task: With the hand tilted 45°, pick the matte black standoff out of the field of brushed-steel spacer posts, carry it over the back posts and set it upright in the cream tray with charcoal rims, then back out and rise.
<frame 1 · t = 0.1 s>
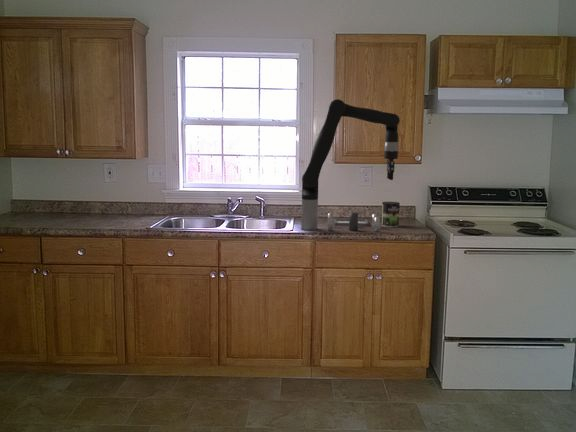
hand: (390, 179, 308), 29 cm above the counter, tool pointing down, fingers open, 8 cm apart
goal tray: (351, 223, 335), on the counter
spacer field: (353, 230, 311), on the counter
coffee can: (390, 226, 328), on the counter
black standoff: (353, 230, 311), on the counter
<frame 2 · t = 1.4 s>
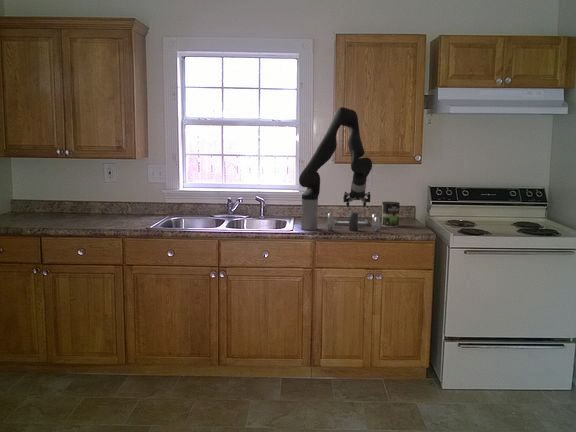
hand: (355, 205, 299), 15 cm above the counter, tool tilted 45°, fingers open, 8 cm apart
nothing on the counter moved.
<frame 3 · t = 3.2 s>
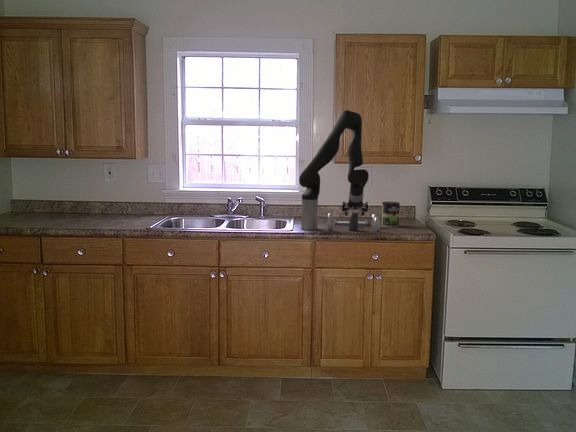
hand: (354, 214, 306), 9 cm above the counter, tool tilted 45°, fingers open, 8 cm apart
nothing on the counter moved.
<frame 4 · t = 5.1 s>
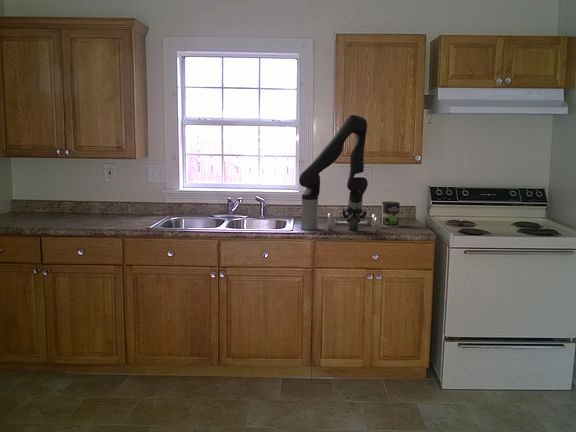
hand: (353, 221, 312), 5 cm above the counter, tool tilted 45°, fingers closed on black standoff, 5 cm apart
black standoff: (353, 230, 311), on the counter, touching gripper
everything else where it was.
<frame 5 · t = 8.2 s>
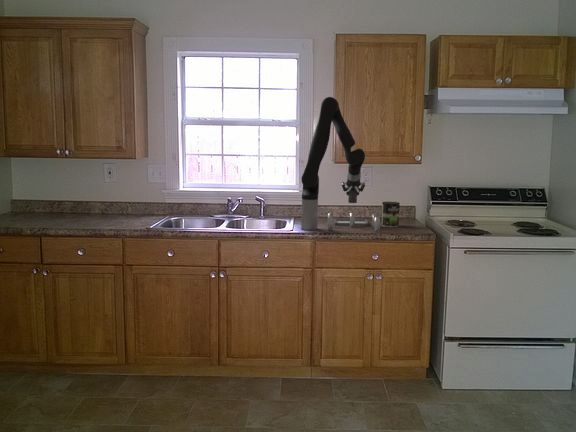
hand: (352, 194, 330), 18 cm above the counter, tool tilted 45°, fingers closed on black standoff, 5 cm apart
black standoff: (352, 202, 329), point 13 cm above the counter, touching gripper
everything else where it was.
when the fingers open (6 cm above the counter, at t = 11.3 s): black standoff drops 1 cm, resting on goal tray.
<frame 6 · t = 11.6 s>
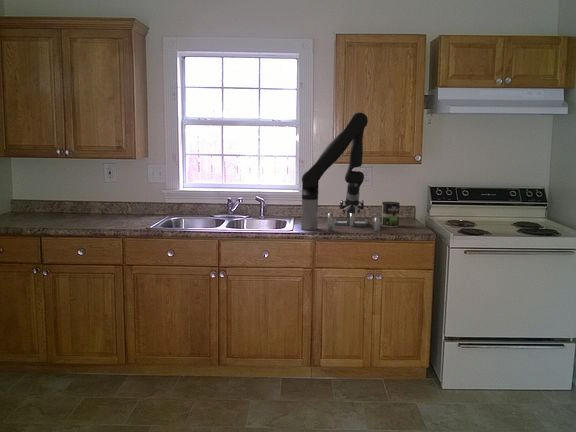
hand: (351, 212, 335), 7 cm above the counter, tool tilted 45°, fingers open, 8 cm apart
black standoff: (350, 223, 335), resting on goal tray
everything else where it was.
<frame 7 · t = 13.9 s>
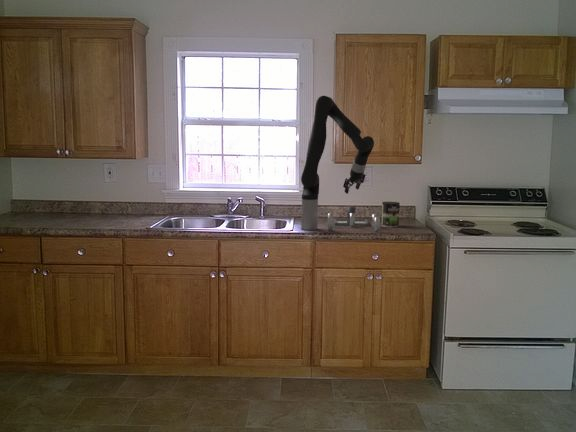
hand: (351, 190, 319), 21 cm above the counter, tool tilted 35°, fingers open, 8 cm apart
nothing on the counter moved.
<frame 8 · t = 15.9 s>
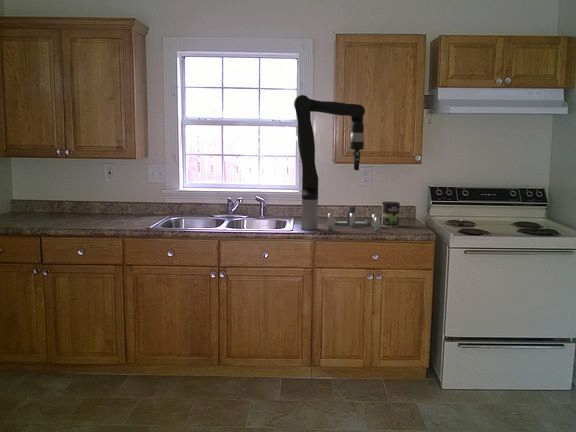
hand: (356, 169, 310), 34 cm above the counter, tool pointing down, fingers open, 8 cm apart
nothing on the counter moved.
at the end: black standoff inside the target area on the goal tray (0.1 cm from its centre), point 0.2 cm above the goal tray's base; black standoff tilted 0°; the gripper is holding nothing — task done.
